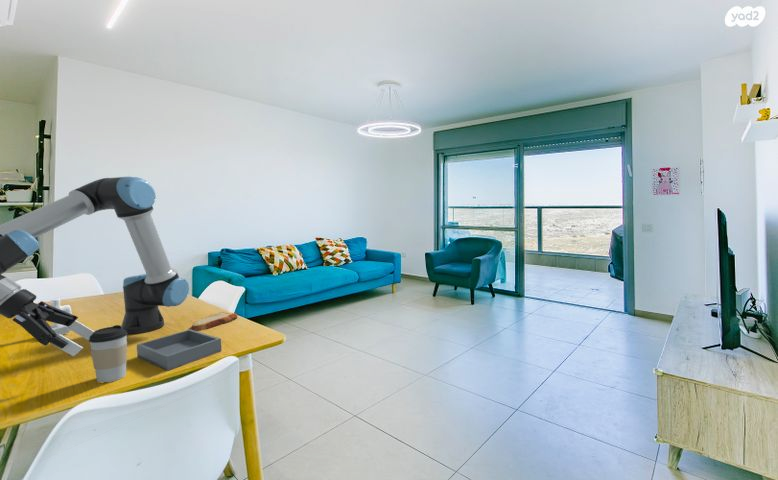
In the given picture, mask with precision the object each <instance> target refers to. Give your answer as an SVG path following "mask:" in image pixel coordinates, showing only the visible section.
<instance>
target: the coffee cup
mask: <svg viewBox="0 0 778 480" xmlns="http://www.w3.org/2000/svg"><path fill="white" fill-rule="evenodd" d="M93 331H94V333H93V334H92V335H91V336H90V339H89V340H88V342H89V344H90V349H89V350H90V354H91V359H92V364H93V369H94V371H95V377H96V382H97V381H98V382H97V383H99V382H108V383H113V382H116V381H119V380H121V379H123V378H124V377H126V375H127V361H128V360H127V359H128V341H127V335H128V334H127V331H126V330H125V329H123V328H122V327H121V325H120V324H119V325H118V324H117V325H116V324H115V325H113V326H108V327H103V328H100V329H97V330H93ZM122 377H123V378H122ZM118 379H119V380H118ZM115 380H116V381H115ZM112 381H113V382H112Z"/></svg>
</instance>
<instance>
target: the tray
mask: <svg viewBox="0 0 778 480" xmlns="http://www.w3.org/2000/svg"><path fill="white" fill-rule="evenodd" d="M222 350H223V349H222V338H221V337H220V338H219V337H216V336H214V335H210V334H207V333H204V332H200V331H194V330H192V328H190V329H186V330H183V331H178V332H175V333H173V334H169V335H165V336H162V337H158V338H155V339H151V340H148V341H144V342H141V343H137V344H136V352H137V358H138V359H140V360H143V361H145V362H147V363H149V364H151V365H154V366H156V367H159V368H160V369H163V370H165V371H166V372H167V371H171V370H174V369H176V368H180V367H182V366H184V365H188V364H190V363H193V362H195V361H199V360H201V359H204V358H207V357H209V356H212V355H214V354H217V353H219V352H222Z"/></svg>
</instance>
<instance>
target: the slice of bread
mask: <svg viewBox="0 0 778 480" xmlns="http://www.w3.org/2000/svg"><path fill="white" fill-rule="evenodd" d="M237 316H238V317H239V315H238V314H237V313H236V312H235V313H233V312H231V313H229V312H224V311H220V312H217V313H214V314H211V315H210V314H209V315H208V316H204V317H202V318H200V319H199V320H198V321H195V322H194V323H193V324H192V325H191V330H194V331H197V332H200V331H204V330H208V329H212V328H214V327H215V328H216V327H218V326H222V325H223V324H226V323H230V322H232V321H233V320H236V319H237V318H238V317H237ZM221 324H222V325H221Z"/></svg>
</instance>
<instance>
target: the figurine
mask: <svg viewBox="0 0 778 480" xmlns="http://www.w3.org/2000/svg"><path fill="white" fill-rule="evenodd" d="M50 306H52V307H55V308H57V309H60V310H62V311H65V312H67V313H70V314H72V315H73V313H72V308H71V305H69V304H65V305H61V299H60V298H51V299H50ZM49 326H50V327H51V328H52V329H53V330H54V332H55V333H56V334H57V336H58V335H59V334H61V335H62V334H66V333H68V334H69V333H70V331H71V330H70V329H68V327H69V326H64V325H61V324H57V323H53V322H52V325H49ZM66 335H67V334H66Z"/></svg>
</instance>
